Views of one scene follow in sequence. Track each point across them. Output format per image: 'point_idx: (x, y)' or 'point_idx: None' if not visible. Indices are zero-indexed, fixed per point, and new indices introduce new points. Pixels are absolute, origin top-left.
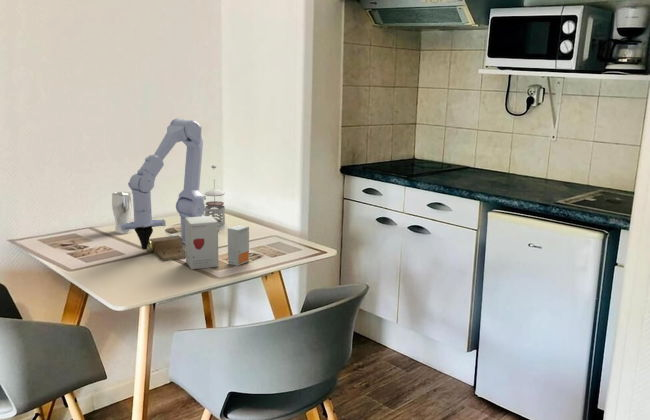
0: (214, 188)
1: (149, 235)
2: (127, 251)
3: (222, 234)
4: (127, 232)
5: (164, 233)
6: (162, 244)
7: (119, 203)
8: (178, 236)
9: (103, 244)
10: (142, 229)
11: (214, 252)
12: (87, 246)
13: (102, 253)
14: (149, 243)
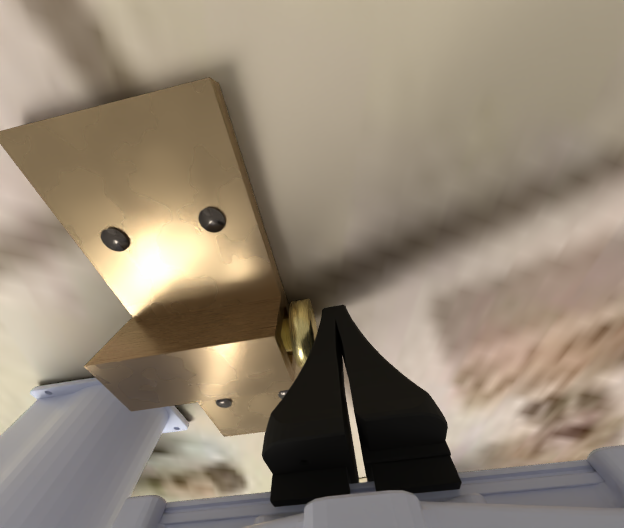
0: None
1: (305, 380)
2: (408, 335)
3: None
4: (361, 481)
5: (247, 466)
6: (225, 324)
7: None
8: (121, 395)
9: (465, 418)
10: (377, 458)
11: None
12: (524, 411)
13: (520, 334)
14: (307, 332)
